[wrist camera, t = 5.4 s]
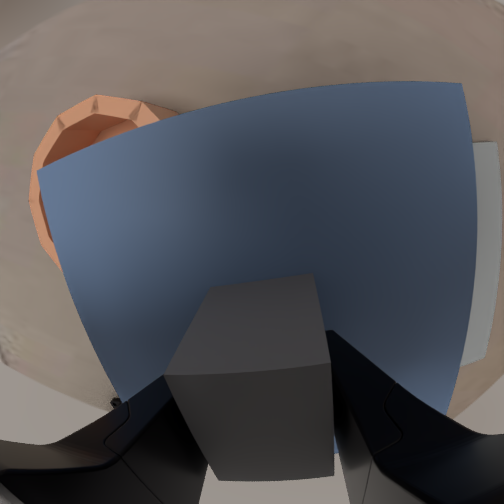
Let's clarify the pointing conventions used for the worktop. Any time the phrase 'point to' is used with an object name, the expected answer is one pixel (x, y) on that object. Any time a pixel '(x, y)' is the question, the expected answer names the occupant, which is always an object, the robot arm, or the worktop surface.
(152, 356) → the cover sheet
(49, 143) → the bowl
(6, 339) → the worktop surface
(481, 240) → the mat
